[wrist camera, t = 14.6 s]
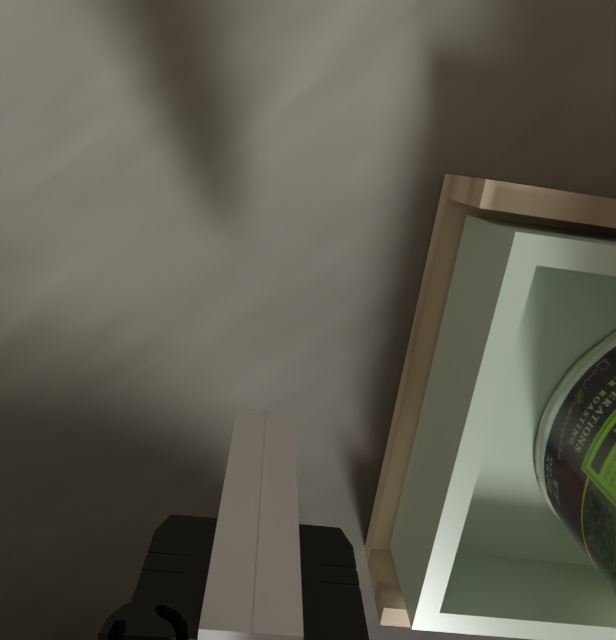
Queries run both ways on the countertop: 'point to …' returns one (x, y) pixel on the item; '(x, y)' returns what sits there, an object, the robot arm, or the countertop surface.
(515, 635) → the mint green tray
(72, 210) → the countertop surface
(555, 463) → the coffee can
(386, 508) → the bay
